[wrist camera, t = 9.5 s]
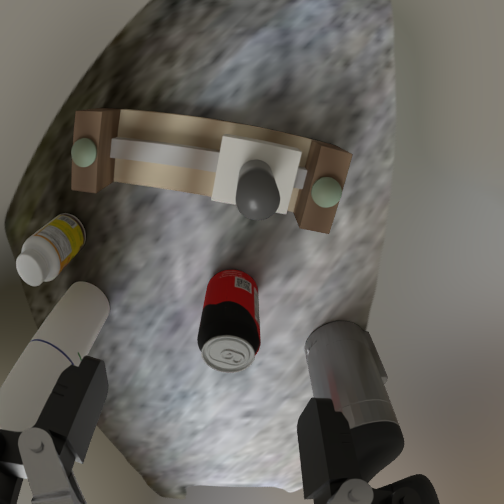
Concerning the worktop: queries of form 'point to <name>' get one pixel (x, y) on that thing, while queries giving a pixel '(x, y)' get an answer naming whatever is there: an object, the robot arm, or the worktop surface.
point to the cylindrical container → (52, 354)
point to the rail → (193, 137)
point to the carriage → (255, 175)
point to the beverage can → (230, 322)
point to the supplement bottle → (50, 249)
